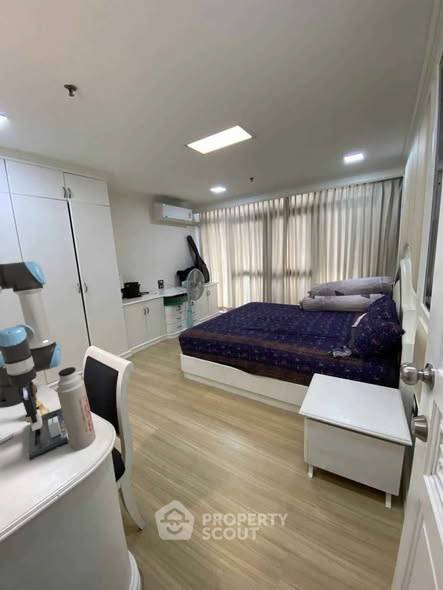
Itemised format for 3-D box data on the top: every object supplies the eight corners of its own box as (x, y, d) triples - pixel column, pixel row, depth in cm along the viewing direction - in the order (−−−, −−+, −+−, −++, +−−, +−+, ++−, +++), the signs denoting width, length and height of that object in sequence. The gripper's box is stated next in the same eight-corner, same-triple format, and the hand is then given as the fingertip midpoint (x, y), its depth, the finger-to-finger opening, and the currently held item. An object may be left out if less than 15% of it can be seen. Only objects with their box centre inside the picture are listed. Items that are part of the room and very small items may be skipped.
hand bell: (46, 406, 111) (38, 374, 107) (52, 413, 105) (44, 379, 102) (23, 417, 104) (14, 383, 101) (28, 425, 99) (19, 389, 96)
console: (31, 425, 99) (30, 419, 98) (63, 412, 105) (62, 407, 105) (29, 460, 81) (27, 454, 81) (68, 443, 88) (66, 436, 87)
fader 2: (51, 434, 90) (47, 419, 89) (60, 431, 92) (57, 415, 91) (52, 441, 87) (48, 425, 86) (61, 437, 89) (57, 421, 87)
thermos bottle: (100, 434, 91) (85, 364, 85) (84, 451, 83) (67, 376, 77) (82, 432, 92) (66, 364, 87) (65, 449, 85) (46, 376, 79)
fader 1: (34, 427, 96) (30, 412, 94) (42, 423, 97) (39, 408, 96) (33, 432, 92) (29, 417, 91) (42, 429, 94) (39, 414, 93)
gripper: (9, 367, 89) (25, 423, 94) (5, 381, 79) (23, 444, 84) (34, 360, 94) (48, 414, 98) (34, 373, 83) (49, 433, 88)
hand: (37, 428), depth 91 cm, fingers closed
